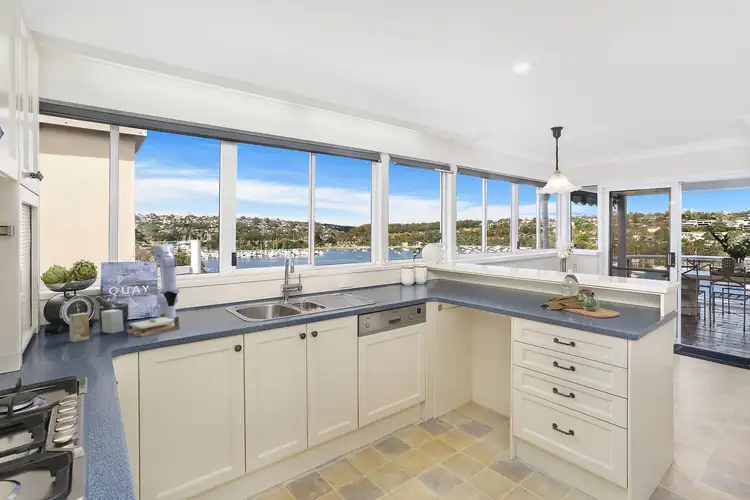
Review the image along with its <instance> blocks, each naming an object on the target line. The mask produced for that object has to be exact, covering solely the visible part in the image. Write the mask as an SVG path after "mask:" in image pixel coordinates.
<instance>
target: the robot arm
mask: <svg viewBox="0 0 750 500" xmlns="http://www.w3.org/2000/svg"><path fill="white" fill-rule="evenodd" d="M152 251H153V258H154V261H157V262H158V265H159V270H160V271H159V272H160V280H161V281H160V282H161V288H160V289H158V290H157V292H156V302H157V303H156V304H157V305H158V308H157V318H161V314H165V317H167V318H171V319H174V317H177V316H176V305H177V303H178V302H179V297H178V296H179V294H180V288H178V287H177V272H176V268H177V262H178V261H177V258H176V256H174V251H175V250H174V244H173V243H169V244H167V243H165V244H164V243H163V244H153V246H152Z"/></svg>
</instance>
